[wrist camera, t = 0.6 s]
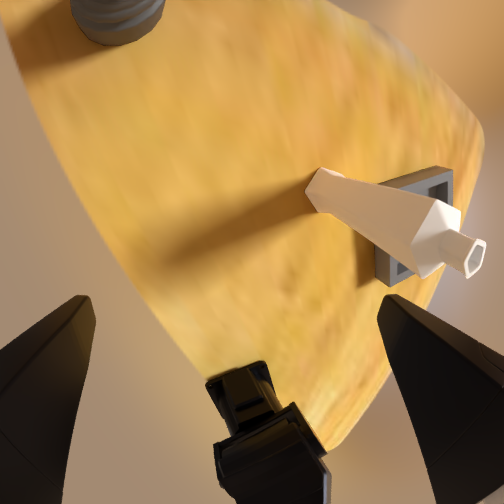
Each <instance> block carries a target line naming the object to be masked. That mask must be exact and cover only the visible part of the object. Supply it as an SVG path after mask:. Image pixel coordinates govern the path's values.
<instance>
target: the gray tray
mask: <svg viewBox="0 0 504 504" xmlns="http://www.w3.org/2000/svg"><path fill="white" fill-rule="evenodd" d="M378 185H383V186H387V187H391V188H395V189H399V190H403V191H407V192H411V193H415V194H419V195H423V196H427V197H430V198H434V199H438V200H440V201H442V202H444V203H446V204H448V205H450V206H452V207H453V170H451V169H448V168H444V167H440V166H433V167H430V168H427V169H424V170H420V171H417V172H414V173H411V174H408V175H404V176H401V177H398V178H395V179H392V180H389V181H385V182H382V183H379V184H378ZM374 245H375V244H374ZM414 274H415V273H414V272H412V271H411V270H410V269H408V268H407V267H406V266H404V265H403V264H402V263H400V262H399V261H398V260H396V259H395V258H393V257H392V256H391V255H389V254H388V253H387V252H385V251H384V250H382V249H381V248H380V247H378V246H377V245H375V277H376V278H377V279H378V280H380V281H381V282H383V283H384V284H386V285H387V286H388V287H392V286H394V285H395V284H397V283H399V282H401V281H403V280H405V279H406V278H408V277H410V276H412V275H414Z"/></svg>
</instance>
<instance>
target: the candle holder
mask: <svg viewBox="0 0 504 504" xmlns="http://www.w3.org/2000/svg"><path fill="white" fill-rule="evenodd" d="M70 4H71V10H72V15H73V17H74V18H75V20H76V22H77V24H78V25H79V27H80V29H81V30H82V31H83V32H84V34H85V35H86V36H87V37H88V38H89V39H90V40H92V41H94V42H97V43H99V44H102V45H116V46H121V45H124V44H127V43H130V42H133V41H137V40H138V39H140V38H141V37H143V36H144V35H146V34H147V33H148V32H150V31H151V30H152V29H153V28H154V26H155V25H156V24H157V22H158V21H159V20H160V18H161V16H162V12H163V8H164V4H165V0H70Z"/></svg>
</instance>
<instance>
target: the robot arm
mask: <svg viewBox="0 0 504 504" xmlns="http://www.w3.org/2000/svg"><path fill="white" fill-rule="evenodd" d="M377 322H378V326H379V329H380V333H381V336H382V339H383V343H384V346H385V350H386V354H387V357H388V360H389V363H390V366H391V368H392V371H393V373H394V375H395V378H396V381H397V384H398V386H399V389H400V391H401V394H402V397H403V400H404V402H405V405H406V407H407V410H408V413H409V416H410V419H411V422H412V425H413V428H414V430H415V434H416V437H417V439H418V443H419V446H420V449H421V452H422V455H423V458H424V461H425V465H426V468H427V472H428V475H429V479H430V482H431V486H432V489H433V493H434V496H435V500H436V504H478V503H480V502H481V501H483V502H484V504H504V356H502V355H501V354H499V353H497V352H495V351H494V350H492V349H490V348H489V347H487V346H485V345H484V344H482V343H480V342H478V341H477V340H475V339H473V338H472V337H470V336H468V335H467V334H465V333H463V332H461V331H460V330H458V329H457V328H455V327H453V326H451V325H450V324H448V323H446V322H445V321H442V320H441V319H439V318H437V317H436V316H434V315H433V314H431V313H429V312H427V311H426V310H424V309H422V308H420V307H419V306H417V305H415V304H413V303H412V302H410V301H408V300H406V299H405V298H403V297H401V296H399V295H397V294H389V295H385V296H384V298H383V300H382V303H381V306H380V309H379V312H378V315H377ZM95 326H96V318H95V314H94V310H93V307H92V302H91V299H90V298H89V296H87V295H76V296H74V297H73V298H71V299H70V300H68V301H67V302H65V303H64V304H63V305H61V306H60V307H58V308H57V309H56V310H54V311H53V312H51V313H50V314H48V315H47V316H45V317H44V318H43V319H41V320H40V321H39V322H37V323H36V324H34V325H33V326H32V327H30V328H29V329H27V330H26V331H25V332H23V333H22V334H21V335H19V336H18V337H17V338H16V339H14V340H13V341H11V342H10V343H9V344H7V345H6V346H5V347H3V348H2V349H1V350H0V504H61V503H62V496H63V487H64V479H65V472H66V466H67V460H68V455H69V449H70V444H71V439H72V434H73V429H74V424H75V419H76V414H77V410H78V406H79V402H80V398H81V394H82V390H83V386H84V382H85V378H86V374H87V370H88V366H89V360H90V354H91V348H92V342H93V337H94V331H95ZM261 365H262V366H261ZM211 385H212V386H211ZM205 387H206V389H207V391H208V393H209V395H210V397H211V399H212V400H213V402H214V404H215V406H216V408H217V409H218V411H219V413H220V415H221V416H222V418H223V419H225V422H226V425H227V428H228V430H229V433H230V435H231V437H229V438H227V439H225V440H223V441H221V442H217V443H215V444H213V448H214V459H215V466H216V472H217V478H218V481H219V485H220V487H221V488H223V489H225V490H226V492H227V493H228V494H229V495H230V496H231V497H233V498H234V499H235V501H236V503H237V504H330V502H331V479H332V476H331V473H330V471H329V470H328V468H327V467H326V465H325V463H324V462H323V460H322V459H321V457H323V456H325V455H326V454H327V452H326V450H325V448H324V447H323V445H322V443H321V442H320V440H319V438H318V437H317V435H316V434H315V432H314V430H313V429H312V427H311V426H310V424H309V423H308V421H307V420H306V418H305V417H304V415H303V414H302V412H301V411H300V410H299V408H298V407H297V405H296V404H295V402H292V403H290V404H289V406H287V407H285V408H283V407H282V406H281V404H280V402H279V400H278V399H277V397H276V394H275V390H274V387H273V384H272V380H271V377H270V373H269V370H268V367H267V364H266V362H265V361H259V362H257V363H254V364H252V365H250V366H247V367H245V368H242V369H240V370H237V371H235V372H232V373H229V374H227V375H224V376H222V377H219V378H216V379H214V380H211V381H208V382H207V383H206V384H205Z"/></svg>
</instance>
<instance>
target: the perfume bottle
mask: <svg viewBox="0 0 504 504" xmlns="http://www.w3.org/2000/svg"><path fill="white" fill-rule="evenodd" d="M305 194H306V195H307V197H308V198H309V200H310V201H311V203H312V204H313V206H314V207H315V209H316V210H317V212H319V213H330V214H332V215H333V216H335V217H336V218H338V219H339V220H341V221H342V222H344V223H345V224H347V225H348V226H350V227H351V228H353V229H354V230H355V231H357V232H358V233H360V234H361V235H363V236H364V237H365V238H367V239H368V240H370V241H371V242H373V243H374V244H375V245H377V246H378V247H380V248H381V249H382V250H384V251H385V252H387V253H388V254H389V255H391V256H392V257H393V258H395V259H396V260H398V261H399V262H400V263H402V264H403V265H404V266H406V267H407V268H408V269H410V270H411V271H412V272H414V273H415V274H416V275H418V276H419V277H420V278H422V279H424V278H426V277H427V276H429V275H430V274H431V273H433V272H434V271H436V270H437V269H438V268H440V267H441V266H442V265H444V264H445V263H446V264H448V265H450V266H451V267H453V268H455V269H457V270H458V271H460V272H462V273H464V274H465V277H466V279H468V278H470V277H471V276H472V275H473V274H474V273H475V272H476V271H478V270H479V269H480V267H481V265H482V261H483V257H484V253H485V249H486V243H485V242H484V241H482V240H480V239H473V238H471V237H468V236H466V235H464V234H462V233H460V232H459V226H460V217H461V212H460V211H459V210H457V209H455V208H454V207H452V206H450V205H448V204H446V203H444V202H442V201H440V200H438V199H434V198H430V197H427V196H423V195H419V194H415V193H411V192H407V191H403V190H399V189H395V188H391V187H387V186H383V185H378V184H374V183H369V182H365V181H360V180H356V179H351V178H346V177H344V176H343V175H342V174H340V173H337V172H334V171H331V170H329V169H326V168H323V167H320V168H319V169H318V170H317V172H316V174H315V175H314V177H313V178H312V180H311V181H310V183H309V184H308V186H307V188H306V189H305Z"/></svg>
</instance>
